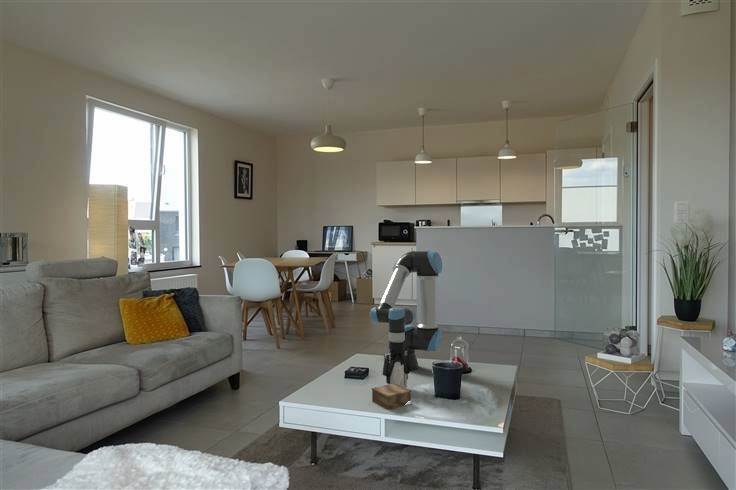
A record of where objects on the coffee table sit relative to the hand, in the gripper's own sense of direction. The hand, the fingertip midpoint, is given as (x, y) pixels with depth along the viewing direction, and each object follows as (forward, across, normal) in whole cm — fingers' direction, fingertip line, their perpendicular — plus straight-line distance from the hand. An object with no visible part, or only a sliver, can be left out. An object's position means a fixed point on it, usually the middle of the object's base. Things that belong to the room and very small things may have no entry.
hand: (397, 388), depth 229 cm
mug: (+1, 0, 0) cm, 1 cm away
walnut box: (+1, +13, +13) cm, 18 cm away
